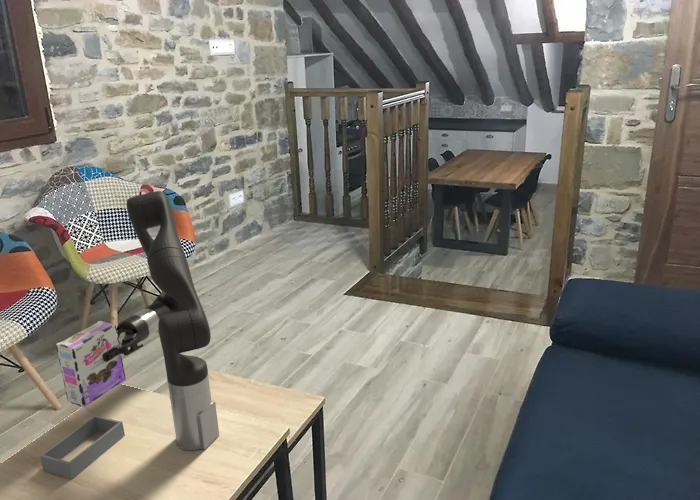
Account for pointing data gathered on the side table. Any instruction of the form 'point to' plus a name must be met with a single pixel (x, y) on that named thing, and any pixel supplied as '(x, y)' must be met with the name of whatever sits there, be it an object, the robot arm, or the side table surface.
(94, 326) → the candy box
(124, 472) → the side table surface
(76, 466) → the bin
